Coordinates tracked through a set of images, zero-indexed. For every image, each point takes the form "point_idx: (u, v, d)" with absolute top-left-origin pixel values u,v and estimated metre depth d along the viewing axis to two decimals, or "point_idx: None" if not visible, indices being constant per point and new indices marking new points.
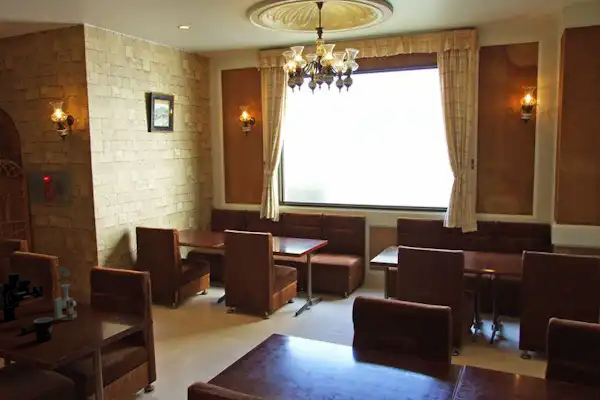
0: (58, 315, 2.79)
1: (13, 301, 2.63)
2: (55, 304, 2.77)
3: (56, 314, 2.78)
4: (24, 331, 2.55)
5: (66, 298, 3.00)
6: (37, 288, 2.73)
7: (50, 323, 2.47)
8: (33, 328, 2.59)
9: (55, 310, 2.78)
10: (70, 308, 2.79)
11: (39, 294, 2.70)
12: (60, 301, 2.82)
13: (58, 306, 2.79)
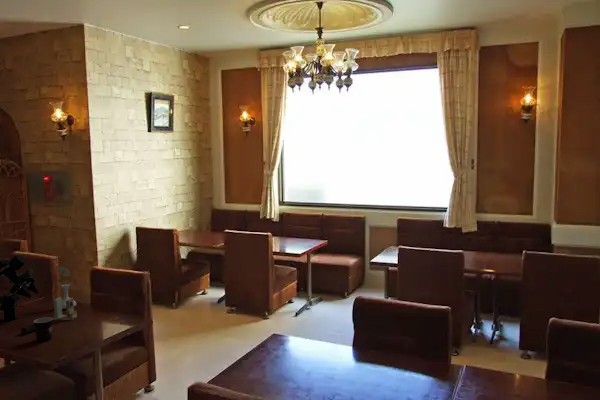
0: (58, 315, 2.79)
1: (17, 292, 2.72)
2: (55, 304, 2.77)
3: (56, 314, 2.78)
4: (24, 331, 2.55)
5: (66, 298, 3.00)
6: (33, 282, 2.84)
7: (50, 323, 2.47)
8: (33, 328, 2.59)
9: (55, 310, 2.78)
10: (70, 308, 2.79)
11: (36, 290, 2.83)
12: (60, 301, 2.82)
13: (58, 306, 2.79)
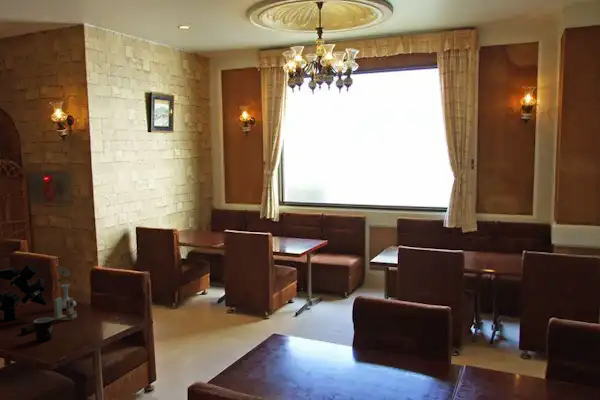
0: (58, 315, 2.79)
1: (32, 300, 2.77)
2: (55, 304, 2.77)
3: (56, 314, 2.78)
4: (24, 331, 2.55)
5: (66, 298, 3.00)
6: (41, 293, 2.81)
7: (50, 323, 2.47)
8: (33, 328, 2.59)
9: (55, 310, 2.78)
10: (70, 308, 2.79)
11: None
12: (60, 301, 2.82)
13: (58, 306, 2.79)
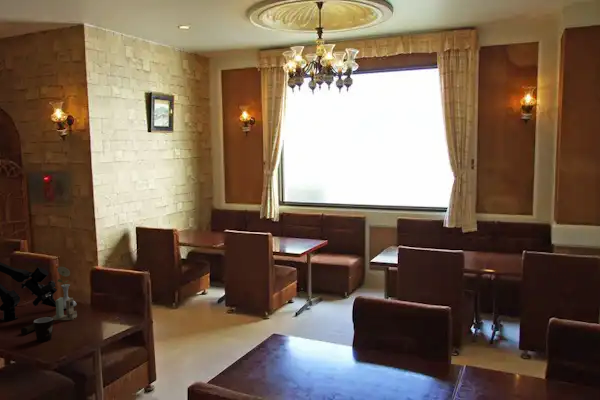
0: (60, 315, 2.79)
1: (43, 302, 2.77)
2: (57, 304, 2.77)
3: (58, 314, 2.78)
4: (25, 331, 2.55)
5: (66, 298, 3.00)
6: (52, 295, 2.81)
7: (50, 323, 2.47)
8: (33, 328, 2.60)
9: (57, 310, 2.78)
10: (70, 308, 2.79)
11: (54, 304, 2.80)
12: (62, 301, 2.82)
13: (60, 306, 2.79)
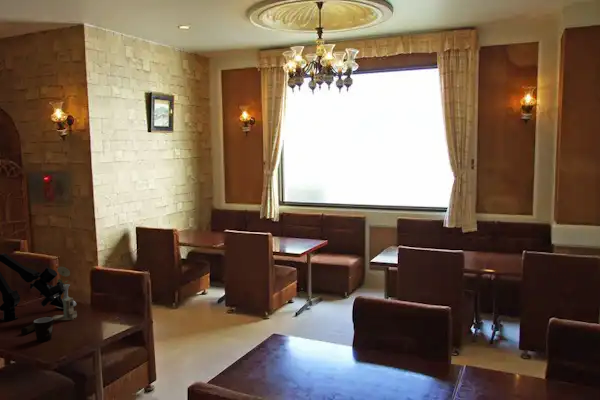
0: None
1: (51, 303, 2.77)
2: (64, 304, 2.78)
3: (65, 314, 2.78)
4: (25, 331, 2.55)
5: None
6: (60, 296, 2.82)
7: (50, 323, 2.47)
8: (33, 328, 2.60)
9: (64, 310, 2.78)
10: (70, 308, 2.79)
11: (62, 305, 2.81)
12: None
13: None
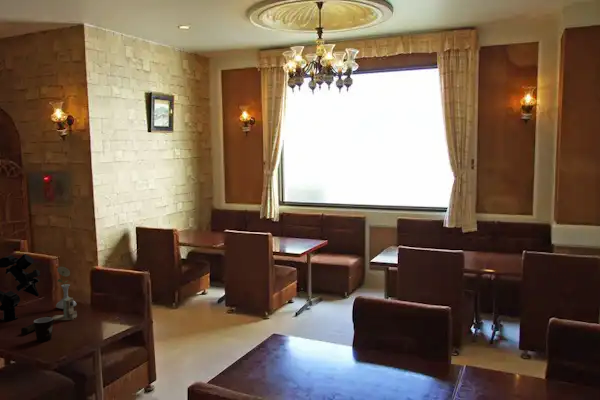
0: None
1: (26, 289, 2.75)
2: (64, 304, 2.78)
3: (65, 314, 2.78)
4: (25, 331, 2.55)
5: None
6: (35, 284, 2.80)
7: (50, 323, 2.47)
8: (33, 328, 2.60)
9: (64, 310, 2.78)
10: (70, 308, 2.79)
11: (36, 293, 2.78)
12: None
13: None
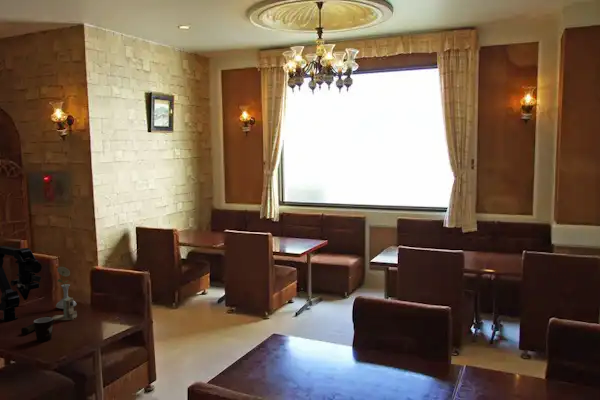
0: None
1: None
2: (64, 304, 2.78)
3: (65, 314, 2.78)
4: (26, 331, 2.55)
5: None
6: None
7: (50, 323, 2.47)
8: (33, 328, 2.60)
9: (64, 310, 2.78)
10: (70, 308, 2.79)
11: None
12: None
13: None
